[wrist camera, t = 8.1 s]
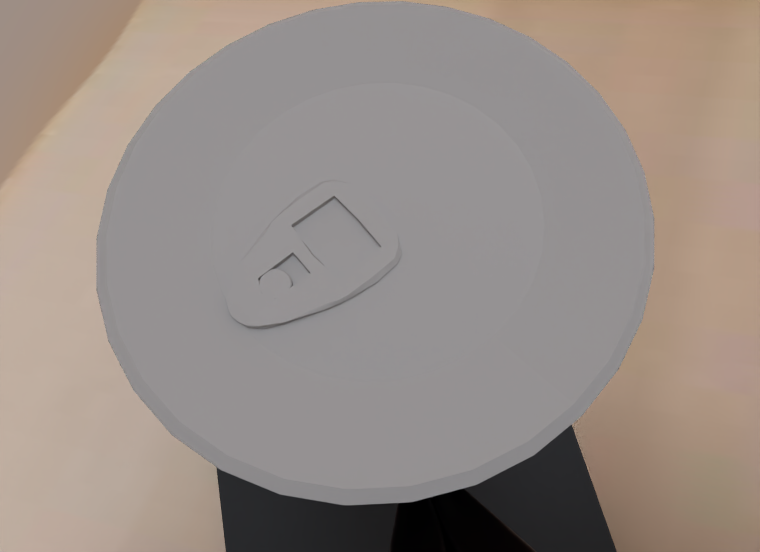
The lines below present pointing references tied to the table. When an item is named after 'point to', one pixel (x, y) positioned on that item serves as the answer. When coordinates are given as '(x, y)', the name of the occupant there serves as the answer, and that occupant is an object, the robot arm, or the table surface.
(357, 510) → the mat
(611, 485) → the table surface
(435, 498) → the robot arm
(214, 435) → the canned food
